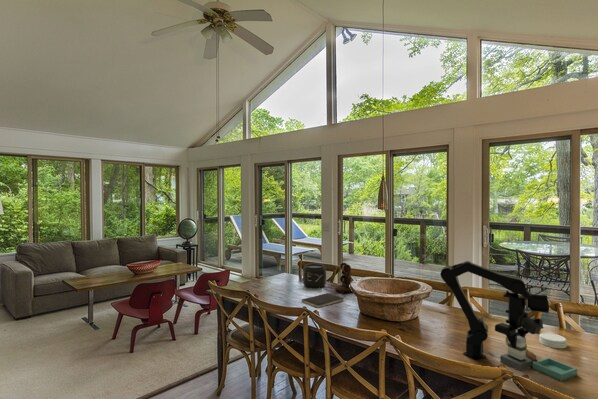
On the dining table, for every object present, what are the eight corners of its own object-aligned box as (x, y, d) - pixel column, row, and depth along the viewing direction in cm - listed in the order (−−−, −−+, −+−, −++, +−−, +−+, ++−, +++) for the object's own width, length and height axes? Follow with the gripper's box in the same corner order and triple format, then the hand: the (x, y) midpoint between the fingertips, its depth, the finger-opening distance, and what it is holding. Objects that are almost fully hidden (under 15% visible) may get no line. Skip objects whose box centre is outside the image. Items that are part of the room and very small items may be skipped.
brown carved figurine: (358, 293, 236) (358, 264, 236) (339, 294, 233) (339, 265, 233) (351, 287, 250) (351, 261, 250) (332, 288, 247) (332, 262, 247)
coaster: (534, 339, 157) (534, 332, 157) (555, 339, 157) (555, 332, 157) (549, 349, 147) (549, 341, 147) (572, 349, 147) (572, 341, 147)
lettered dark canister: (297, 286, 254) (297, 266, 254) (312, 282, 268) (312, 262, 268) (316, 290, 242) (316, 269, 242) (330, 285, 256) (330, 265, 256)
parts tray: (561, 381, 121) (561, 374, 121) (532, 368, 130) (532, 362, 130) (577, 375, 125) (577, 368, 125) (548, 363, 134) (548, 357, 134)
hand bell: (512, 327, 146) (531, 346, 130) (529, 337, 145) (551, 358, 130) (501, 343, 147) (519, 363, 132) (518, 352, 147) (538, 374, 131)
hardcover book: (344, 301, 218) (344, 298, 218) (318, 308, 204) (318, 305, 204) (327, 296, 231) (327, 292, 231) (301, 302, 216) (301, 299, 216)
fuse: (520, 360, 131) (520, 339, 131) (507, 354, 135) (507, 334, 135) (526, 358, 132) (525, 338, 132) (512, 352, 137) (512, 333, 137)
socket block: (520, 370, 128) (520, 364, 128) (500, 361, 136) (500, 355, 136) (533, 366, 132) (533, 360, 132) (513, 357, 139) (513, 351, 139)
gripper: (522, 318, 122) (522, 361, 122) (552, 311, 130) (552, 351, 130) (493, 309, 133) (494, 348, 133) (523, 303, 140) (523, 340, 140)
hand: (516, 347), depth 134 cm, fingers closed on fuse, 3 cm apart
